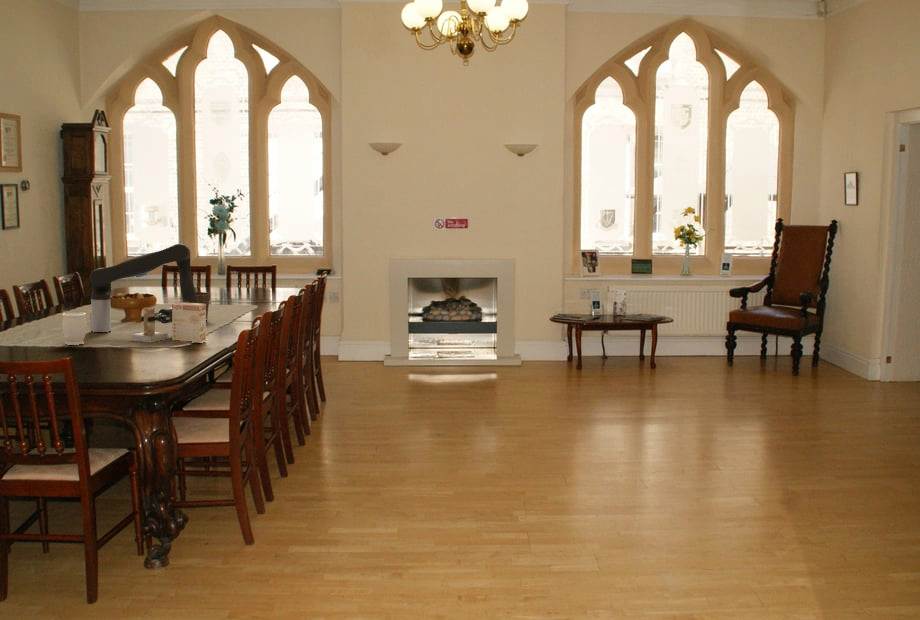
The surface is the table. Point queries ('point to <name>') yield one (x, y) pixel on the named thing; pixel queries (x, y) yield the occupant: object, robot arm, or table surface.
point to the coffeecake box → (189, 322)
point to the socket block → (149, 337)
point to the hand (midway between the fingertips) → (145, 319)
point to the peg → (149, 326)
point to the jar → (74, 327)
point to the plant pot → (203, 300)
